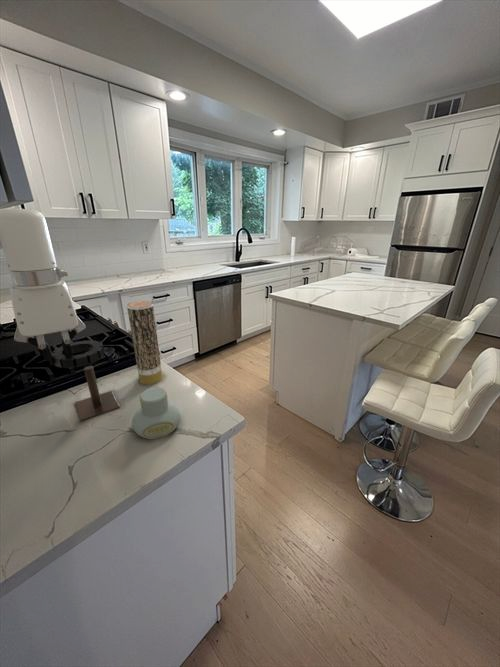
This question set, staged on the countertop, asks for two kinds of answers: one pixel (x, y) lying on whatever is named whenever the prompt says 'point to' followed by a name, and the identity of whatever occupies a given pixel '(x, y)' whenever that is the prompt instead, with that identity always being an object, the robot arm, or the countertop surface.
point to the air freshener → (155, 415)
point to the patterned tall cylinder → (145, 341)
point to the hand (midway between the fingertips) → (59, 360)
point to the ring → (78, 360)
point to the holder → (95, 399)
